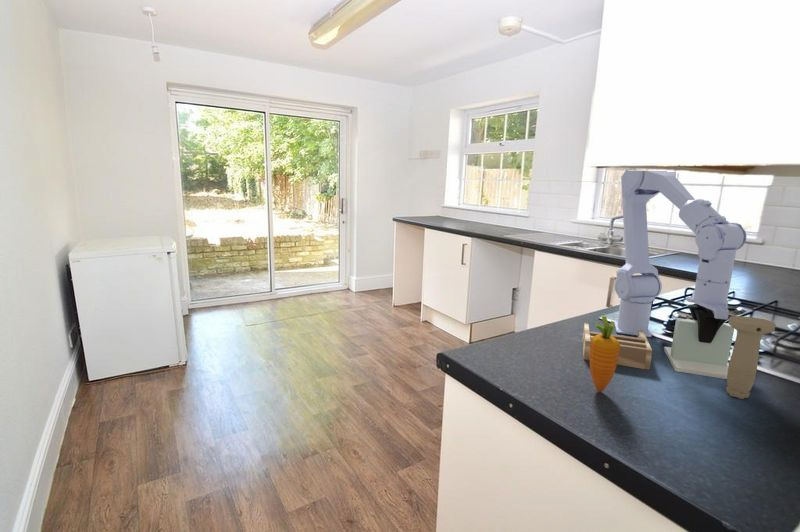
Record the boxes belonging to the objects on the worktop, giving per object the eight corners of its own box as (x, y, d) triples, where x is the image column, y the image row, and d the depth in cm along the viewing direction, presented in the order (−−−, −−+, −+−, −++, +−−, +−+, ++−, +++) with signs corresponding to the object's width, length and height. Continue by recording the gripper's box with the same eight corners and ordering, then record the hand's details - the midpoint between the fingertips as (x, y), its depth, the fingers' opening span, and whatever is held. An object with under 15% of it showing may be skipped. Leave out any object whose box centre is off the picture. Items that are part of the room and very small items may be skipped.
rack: (582, 339, 101) (584, 319, 100) (640, 347, 96) (643, 326, 95) (583, 359, 90) (585, 336, 89) (649, 369, 85) (653, 346, 84)
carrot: (612, 401, 73) (622, 324, 70) (583, 394, 75) (591, 319, 72) (614, 389, 77) (623, 316, 74) (586, 382, 79) (594, 312, 76)
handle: (765, 404, 72) (781, 327, 68) (723, 399, 73) (738, 323, 70) (749, 391, 76) (764, 318, 73) (711, 386, 78) (724, 315, 75)
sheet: (670, 355, 90) (676, 318, 88) (723, 362, 87) (730, 323, 85) (672, 358, 88) (678, 321, 86) (727, 366, 85) (734, 326, 83)
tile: (663, 349, 95) (664, 346, 95) (719, 357, 91) (720, 354, 91) (675, 371, 84) (675, 367, 84) (739, 381, 80) (740, 377, 80)
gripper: (680, 271, 92) (672, 326, 94) (702, 286, 78) (691, 350, 81) (717, 273, 89) (707, 330, 92) (746, 290, 76) (733, 355, 79)
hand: (702, 339), depth 86 cm, fingers closed on sheet, 2 cm apart
